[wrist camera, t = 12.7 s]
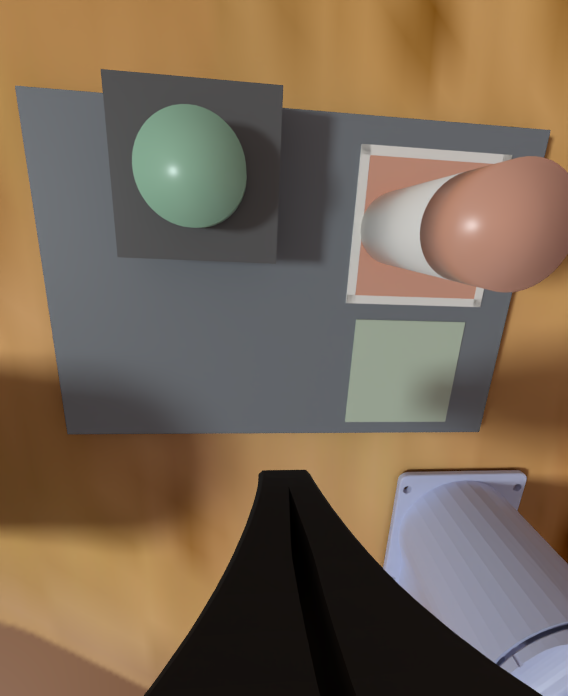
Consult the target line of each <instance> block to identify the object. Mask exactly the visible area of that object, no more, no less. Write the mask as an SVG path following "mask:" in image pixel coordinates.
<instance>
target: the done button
mask: <svg viewBox="0 0 568 696" xmlns="http://www.w3.org/2000/svg"><path fill="white" fill-rule="evenodd" d="M132 169H133V175H134V179H135V182H136V185H137V187H138V190H139V191H140V193H141V195H142V197H143V198H144V200H145V201H146V203H147V204H148V205H149V206H150V207H151V209H152V210H154V211H155V212H156V213H157V214H158V215H159V216H161V217H162V218H164V219H165V220H167V221H169V222H171V223H174V224H176V225H179V226H183V227H191V228H205V227H211V226H214V225H217V224H219V223H221V222H223V221H224V220H226V219H227V218H229V217H230V216H231V215H232V214H233V213H234V212H235V211H236V209H237V208H238V206H239V205H240V203H241V201H242V199H243V196H244V193H245V188H246V180H247V175H246V162H245V156H244V152H243V149H242V146H241V144H240V142H239V140H238V138H237V136H236V134H235V133H234V131H233V130H232V129H231V127H230V126H229V125H228V124H227V123H226V122H225V121H224V120H223V119H222V118H220V117H219V116H218V115H217V114H215V113H213V112H212V111H210V110H208V109H206V108H203V107H200V106H197V105H191V104H177V105H171V106H168V107H165V108H163V109H161V110H159V111H157V112H156V113H154V114H153V115H152V116H151V117H150V118H149V119H147V120H146V122H145V123H144V124H143V126H142V127H141V129H140V130H139V132H138V134H137V137H136V139H135V142H134V146H133V152H132Z"/></svg>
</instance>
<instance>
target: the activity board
mask: <svg viewBox="0 0 568 696" xmlns="http://www.w3.org/2000/svg"><path fill="white" fill-rule="evenodd" d="M15 89H16V96H17V102H18V109H19V116H20V122H21V129H22V135H23V142H24V149H25V155H26V162H27V169H28V175H29V182H30V188H31V195H32V202H33V208H34V215H35V222H36V228H37V235H38V241H39V248H40V255H41V261H42V268H43V275H44V281H45V288H46V294H47V301H48V308H49V314H50V321H51V328H52V334H53V341H54V347H55V354H56V361H57V367H58V374H59V381H60V387H61V394H62V400H63V407H64V414H65V420H66V427H67V434H192V433H367V432H479V430H480V426H481V422H482V418H483V413H484V409H485V405H486V401H487V397H488V392H489V388H490V384H491V380H492V375H493V371H494V367H495V363H496V359H497V354H498V350H499V346H500V342H501V337H502V333H503V329H504V325H505V321H506V316H507V312H508V308H509V304H510V300H511V295H512V292H504V293H503V292H495V291H491V290H487V289H483V288H479V287H475V286H471V285H467V284H463V283H459V282H455V281H451V280H447V279H443V278H439V277H435V276H431V275H427V274H423V273H419V272H415V271H411V270H406V269H402V268H398V267H394V266H390V265H386V264H383V263H380V262H378V261H376V260H374V259H373V258H372V257H371V256H370V255H369V254H368V253H367V252H366V250H365V248H364V246H363V244H362V241H361V234H360V229H361V222H362V218H363V216H364V213H365V211H366V210H367V208H368V207H369V205H370V204H371V203H372V202H373V201H374V200H375V199H376V198H378V197H379V196H381V195H383V194H385V193H388V192H391V191H395V190H399V189H402V188H406V187H410V186H414V185H417V184H421V183H425V182H428V181H432V180H436V179H440V178H443V177H447V176H451V175H455V174H458V173H462V172H466V171H470V170H473V169H477V168H481V167H485V166H488V165H492V164H496V163H500V162H503V161H507V160H511V159H515V158H518V157H525V156H538V157H543V158H544V156H545V152H546V148H547V143H548V139H549V135H550V131H551V130H542V129H530V128H518V127H506V126H493V125H481V124H469V123H457V122H445V121H433V120H421V119H409V118H397V117H385V116H373V115H361V114H349V113H337V112H325V111H313V110H301V109H289V108H282V127H281V153H280V178H279V203H278V229H277V254H276V264H270V263H245V262H220V261H196V260H171V259H146V258H122V257H117V246H116V234H115V223H114V212H113V201H112V189H111V178H110V167H109V156H108V144H107V133H106V122H105V111H104V99H103V93H96V92H84V91H72V90H60V89H48V88H36V87H24V86H15Z"/></svg>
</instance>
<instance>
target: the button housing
mask: <svg viewBox="0 0 568 696" xmlns="http://www.w3.org/2000/svg"><path fill="white" fill-rule="evenodd" d="M101 77H102V88H103V99H104V111H105V122H106V133H107V144H108V156H109V167H110V178H111V189H112V201H113V212H114V223H115V234H116V246H117V257H122V258H146V259H171V260H196V261H220V262H245V263H270V264H276V254H277V229H278V203H279V178H280V153H281V127H282V102H283V85H273V84H262V83H251V82H239V81H228V80H217V79H206V78H194V77H183V76H172V75H161V74H150V73H138V72H127V71H116V70H105V69H101ZM177 104H191V105H197V106H200V107H203V108H206V109H208V110H210V111H212V112H213V113H215V114H217V115H218V116H219V117H220V118H222V119H223V120H224V121H225V122H226V123H227V124H228V125H229V126H230V127H231V129H232V130H233V131H234V133H235V134H236V136H237V138H238V140H239V142H240V144H241V146H242V149H243V152H244V156H245V162H246V175H247V180H246V188H245V193H244V196H243V199H242V201H241V203H240V205H239V206H238V208H237V209H236V211H235V212H234V213H233V214H232V215H231V216H230V217H229V218H227V219H226V220H224V221H223V222H221V223H219V224H217V225H214V226H211V227H205V228H191V227H183V226H179V225H176V224H174V223H171V222H169V221H167V220H165V219H164V218H162V217H161V216H159V215H158V214H157V213H156V212H155V211H154V210H152V209H151V207H150V206H149V205H148V204H147V203H146V201H145V200H144V198H143V197H142V195H141V193H140V191H139V190H138V187H137V185H136V182H135V179H134V175H133V169H132V152H133V146H134V142H135V139H136V137H137V134H138V132H139V130H140V129H141V127H142V126H143V124H144V123H145V122H146V120H147V119H149V118H150V117H151V116H152V115H153V114H154V113H156V112H157V111H159V110H161V109H163V108H165V107H168V106H171V105H177Z"/></svg>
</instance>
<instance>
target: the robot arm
mask: <svg viewBox="0 0 568 696" xmlns="http://www.w3.org/2000/svg"><path fill="white" fill-rule="evenodd" d="M526 480H527V477H526V475H525V474H524V473H523V472H521V471H520V470H493V471H434V472H404V473H403V474H401V475H400V476H399V478H398V483H397V489H396V495H395V501H394V507H393V513H392V519H391V525H390V531H389V536H388V542H387V548H386V554H385V560H384V566H383V568H382V567H381V566H380V565H379V564H378V563H377V562H376V560H375V559H374V558H373V557H372V556H371V555H370V554H369V553H368V552H367V550H366V549H365V548H364V547H363V546H362V545H361V544H360V542H359V541H358V540H357V539H356V538H355V537H354V535H353V534H352V533H351V532H350V530H349V529H348V528H347V527H346V525H345V524H344V523H343V521H342V520H341V519H340V518H339V516H338V515H337V514H336V512H335V511H334V510H333V508H332V507H331V506H330V504H329V503H328V501H327V500H326V498H325V497H324V496H323V494H322V493H321V491H320V490H319V488H318V487H317V485H316V483H315V482H314V480H313V479H312V477H311V475H310V474H309V473H308V472H307V471H306V470H267V471H262V472H261V473H259V479H258V488H257V492H256V496H255V500H254V503H253V506H252V509H251V512H250V515H249V518H248V521H247V524H246V526H245V529H244V531H243V533H242V536H241V538H240V540H239V543H238V545H237V547H236V549H235V552H234V554H233V556H232V558H231V560H230V562H229V564H228V566H227V568H226V570H225V572H224V574H223V576H222V578H221V580H220V581H219V583H218V585H217V587H216V589H215V591H214V592H213V594H212V596H211V597H210V599H209V601H208V602H207V604H206V606H205V607H204V609H203V611H202V613H201V614H200V616H199V617H198V619H197V621H196V622H195V624H194V625H193V627H192V628H191V630H190V632H189V633H188V635H187V636H186V638H185V639H184V640H183V642H182V643H181V645H180V646H179V648H178V649H177V650H176V652H175V653H174V655H173V656H172V658H171V659H170V660H169V662H168V663H167V665H166V666H165V668H164V669H163V670H162V672H161V673H160V675H159V676H158V678H157V679H156V680H155V682H154V683H153V684H152V686H151V687H150V688H149V690H148V691H147V692H146V693H145V695H144V696H568V564H567V563H566V562H565V561H564V560H563V558H562V557H561V556H560V555H559V554H558V553H557V552H556V551H555V550H554V549H553V548H552V547H551V546H550V545H549V544H548V543H547V542H546V541H545V540H544V539H543V537H542V536H541V535H540V534H539V533H538V532H537V531H536V530H535V529H534V528H533V527H532V526H531V525H530V524H529V523H528V522H527V521H526V520H525V519H524V518H523V516H522V515H521V514H520V513H519V512H518V507H519V504H520V500H521V497H522V494H523V490H524V487H525V483H526ZM407 486H408V488H406V489H404V488H405V487H407Z"/></svg>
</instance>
